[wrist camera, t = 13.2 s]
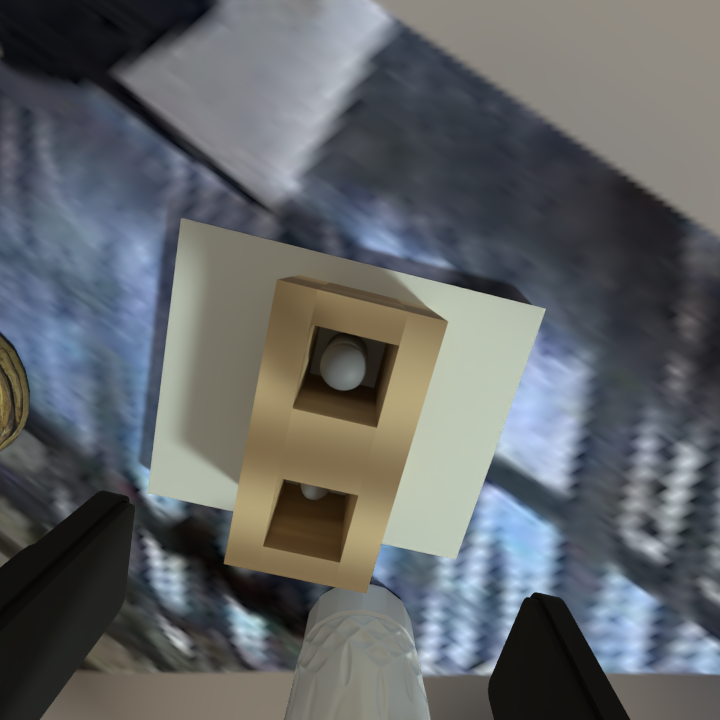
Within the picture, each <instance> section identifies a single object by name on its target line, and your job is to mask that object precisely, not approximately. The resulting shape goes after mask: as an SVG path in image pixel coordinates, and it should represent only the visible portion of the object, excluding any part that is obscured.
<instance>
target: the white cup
mask: <svg viewBox="0 0 720 720" xmlns="http://www.w3.org/2000/svg"><path fill="white" fill-rule="evenodd" d="M284 720H431V718H430V712H429V707H428V702H427V697H426V693H425V688H424V684H423V680H422V672H421V667H420V663H419V659H418V655H417V652H416V649H415V643H414V638H413V632H412V626H411V620H410V618H409V615H408V613H407V611H406V609H405V606H404V604H403V602H402V601H401V600H400V599H399V598H398V597H396V596H395V595H394V594H392V593H391V592H390V591H389V590H387V589H386V588H384V587H380V586H377V585H373V584H369V587H368V590H367V593H366V594H365V593H361V592H356V591H351V590H346V589H341V588H337V587H335V588H333V589H331V590H329V591H328V592H326V593H324V594H322V595H321V596H320V597H319V599H318V600H317V602H316V603H315V605H314V606H313V608H312V609H311V611H310V612H309V616H308V621H307V626H306V631H305V636H304V641H303V646H302V650H301V653H300V656H299V659H298V661H297V665H296V670H295V674H294V679H293V684H292V688H291V692H290V696H289V700H288V704H287V708H286V713H285V718H284Z"/></svg>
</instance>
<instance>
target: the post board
mask: <svg viewBox="0 0 720 720" xmlns="http://www.w3.org/2000/svg"><path fill="white" fill-rule="evenodd" d="M297 275H302V276H306V277H310V278H314V279H318V280H322V281H326V282H330V283H334V284H338V285H342V286H346V287H350V288H354V289H358V290H362V291H366V292H370V293H374V294H378V295H382V296H387V297H391V298H395V299H399V300H403V301H407V302H411V303H415V304H419V305H423V306H427V307H428V308H430V309H431V310H433V311H434V312H435V313H437V314H438V315H440V316H441V317H443V318H444V319H445V320H447V321H448V325H447V328H446V331H445V335H444V338H443V341H442V344H441V348H440V351H439V354H438V358H437V361H436V364H435V368H434V371H433V374H432V378H431V381H430V384H429V388H428V391H427V394H426V398H425V401H424V404H423V408H422V411H421V414H420V418H419V421H418V424H417V427H416V431H415V434H414V437H413V441H412V444H411V447H410V451H409V454H408V457H407V461H406V464H405V467H404V471H403V474H402V477H401V481H400V484H399V487H398V491H397V494H396V497H395V501H394V504H393V507H392V510H391V514H390V517H389V520H388V524H387V527H386V530H385V534H384V537H383V540H382V544H386V545H391V546H396V547H400V548H405V549H410V550H414V551H419V552H423V553H428V554H433V555H437V556H442V557H447V558H451V559H456V557H457V555H458V552H459V549H460V546H461V544H462V541H463V538H464V535H465V532H466V530H467V527H468V524H469V521H470V519H471V516H472V513H473V510H474V507H475V505H476V502H477V499H478V496H479V494H480V491H481V488H482V485H483V482H484V480H485V477H486V474H487V471H488V469H489V466H490V463H491V460H492V457H493V455H494V452H495V449H496V446H497V444H498V441H499V438H500V435H501V432H502V430H503V427H504V424H505V421H506V419H507V416H508V413H509V410H510V407H511V405H512V402H513V399H514V396H515V394H516V391H517V388H518V385H519V382H520V380H521V377H522V374H523V371H524V369H525V366H526V363H527V360H528V357H529V355H530V352H531V349H532V346H533V344H534V341H535V338H536V335H537V332H538V330H539V327H540V324H541V321H542V319H543V316H544V313H545V310H546V309H544V308H540V307H537V306H533V305H529V304H525V303H521V302H517V301H513V300H509V299H505V298H501V297H497V296H493V295H489V294H485V293H481V292H477V291H473V290H469V289H465V288H461V287H457V286H453V285H449V284H445V283H441V282H437V281H433V280H429V279H425V278H421V277H417V276H413V275H409V274H405V273H401V272H397V271H393V270H389V269H385V268H381V267H377V266H373V265H369V264H365V263H361V262H357V261H353V260H349V259H345V258H341V257H337V256H333V255H329V254H325V253H321V252H317V251H313V250H309V249H305V248H301V247H297V246H293V245H289V244H285V243H281V242H277V241H273V240H269V239H265V238H261V237H257V236H253V235H249V234H245V233H241V232H237V231H233V230H229V229H225V228H221V227H217V226H213V225H209V224H205V223H201V222H197V221H193V220H189V219H184V218H181V223H180V231H179V239H178V247H177V256H176V264H175V272H174V280H173V288H172V297H171V305H170V313H169V321H168V330H167V338H166V346H165V354H164V362H163V371H162V379H161V387H160V395H159V404H158V412H157V420H156V428H155V436H154V445H153V453H152V461H151V469H150V478H149V486H148V493H150V494H154V495H159V496H163V497H168V498H173V499H177V500H182V501H187V502H191V503H196V504H201V505H205V506H210V507H215V508H219V509H224V510H228V511H233V512H234V507H235V501H236V496H237V490H238V485H239V480H240V474H241V469H242V464H243V458H244V453H245V448H246V442H247V437H248V431H249V426H250V421H251V415H252V410H253V405H254V399H255V394H256V389H257V383H258V378H259V373H260V367H261V362H262V356H263V351H264V346H265V340H266V335H267V330H268V324H269V319H270V314H271V308H272V303H273V297H274V292H275V287H276V281H277V279H282V278H287V277H292V276H297ZM385 344H386V342H382V341H377V340H373V339H369V338H365V337H361V336H357V335H353V334H348V333H344V332H340V331H336V330H332V329H328V328H324V327H320V329H319V333H318V338H317V343H316V347H315V352H314V356H313V361H312V365H311V370H310V373H312V374H317V375H321V376H322V377H323V379H324V380H325V382H326V383H327V384H328V385H329V386H331V387H333V388H334V389H337V390H350V389H353V388H355V387H357V386H358V385H363V386H368V387H372V388H374V386H375V382H376V378H377V375H378V371H379V367H380V363H381V360H382V356H383V352H384V348H385ZM286 483H291V484H295V485H300V486H301V490H302V493H303V494H304V496H305V497H306V498H308V499H310V500H319V499H321V498H323V497H324V496H325V495H326V494H327V492H331V493H336V494H340V495H345V496H346V493H345V492H340V491H336V490H331V489H327V488H322V487H318V486H313V485H309V484H304V483H300V482H295V481H291V480H286Z"/></svg>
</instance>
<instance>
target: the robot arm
mask: <svg viewBox="0 0 720 720" xmlns="http://www.w3.org/2000/svg"><path fill="white" fill-rule="evenodd" d="M134 513H135V507H134V505H133V504H129V497H128V496H125V495H121V494H116V493H112V492H108V491H104V490H103V491H100V492H98V493H96V494H95V495H94V496H93V497H91V498H90V499H89V500H88V501H87V502H85V503H84V504H83V505H82V506H81V507H79V508H78V509H77V510H76V511H74V512H73V513H72V514H71V515H70V516H68V517H67V518H66V519H65V520H63V521H62V522H61V523H60V524H59V525H57V526H56V527H55V528H54V529H53V530H51V531H50V532H49V533H48V534H46V535H45V536H44V537H43V538H42V539H40V540H39V541H38V542H37V543H35V544H32V545H29V546H28V547H26V548H25V549H23V550H22V551H20V552H19V553H18V554H16V555H15V556H14V557H13V558H11V559H10V560H9V561H8V562H6V563H5V564H4V565H3V566H2V567H0V720H40V718H41V717H42V716H43V714H44V713H45V712H46V710H47V709H48V708H49V706H50V705H51V704H52V702H53V701H54V700H55V698H56V697H57V695H58V694H59V693H60V691H61V690H62V689H63V687H64V686H65V685H66V683H67V682H68V680H69V679H70V678H71V676H72V675H73V674H74V672H75V671H76V670H77V668H78V667H79V666H80V664H81V663H82V662H83V660H84V659H85V657H86V656H87V655H88V653H89V652H90V651H91V649H92V648H93V647H94V645H95V644H96V643H97V641H98V640H99V638H100V637H101V636H102V634H103V633H104V632H105V630H106V629H107V628H108V626H109V625H110V624H111V622H112V621H113V620H114V618H115V617H116V615H117V614H118V612H119V610H120V609H121V607H122V604H123V602H124V599H125V593H126V584H127V575H128V566H129V557H130V548H131V539H132V530H133V521H134ZM488 694H489V701H490V705H491V709H492V713H493V717H494V720H630V718H629V717H628V715H627V713H626V711H625V709H624V708H623V706H622V704H621V702H620V701H619V699H618V697H617V695H616V693H615V691H614V690H613V688H612V686H611V684H610V682H609V681H608V679H607V677H606V675H605V674H604V672H603V670H602V668H601V666H600V665H599V663H598V661H597V659H596V657H595V656H594V654H593V652H592V650H591V648H590V647H589V645H588V643H587V641H586V640H585V638H584V636H583V634H582V632H581V631H580V629H579V627H578V625H577V623H576V622H575V620H574V618H573V616H572V614H571V613H570V611H569V609H568V607H567V606H566V604H565V602H564V601H563V600H562V599H561V598H559V597H554V596H550V595H546V594H542V593H533V594H532V595H531V597H530V598H529V597H526V598H525V599H524V601H523V603H522V605H521V607H520V610H519V612H518V614H517V617H516V619H515V622H514V624H513V626H512V629H511V631H510V633H509V636H508V638H507V640H506V643H505V645H504V647H503V650H502V652H501V654H500V657H499V659H498V661H497V664H496V666H495V668H494V671H493V673H492V676H491V678H490V681H489V687H488Z"/></svg>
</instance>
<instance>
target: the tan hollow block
mask: <svg viewBox="0 0 720 720" xmlns="http://www.w3.org/2000/svg"><path fill="white" fill-rule="evenodd" d="M447 325H448V321H447V320H445V319H444V318H443V317H441V316H440V315H438V314H437V313H435V312H434V311H433V310H431V309H430V308H428V307H427V306H423V305H419V304H415V303H411V302H407V301H403V300H399V299H395V298H391V297H387V296H382V295H378V294H374V293H370V292H366V291H362V290H358V289H354V288H350V287H346V286H342V285H338V284H334V283H330V282H326V281H322V280H318V279H314V278H310V277H306V276H302V275H297V276H292V277H287V278H282V279H277V281H276V287H275V292H274V297H273V303H272V308H271V314H270V319H269V324H268V330H267V335H266V340H265V346H264V351H263V356H262V362H261V367H260V373H259V378H258V383H257V389H256V394H255V399H254V405H253V410H252V415H251V421H250V426H249V431H248V437H247V442H246V448H245V453H244V458H243V464H242V469H241V474H240V480H239V485H238V490H237V496H236V501H235V507H234V512H233V517H232V523H231V528H230V533H229V539H228V544H227V549H226V555H225V560H224V564H227V565H231V566H236V567H241V568H246V569H251V570H255V571H260V572H265V573H270V574H275V575H279V576H284V577H289V578H294V579H298V580H303V581H308V582H313V583H318V584H322V585H327V586H332V587H337V588H341V589H346V590H351V591H356V592H361V593H365V594H366V593H367V590H368V587H369V584H370V580H371V577H372V574H373V570H374V567H375V564H376V560H377V557H378V554H379V550H380V547H381V544H382V540H383V537H384V534H385V530H386V527H387V524H388V520H389V517H390V514H391V510H392V507H393V504H394V501H395V497H396V494H397V491H398V487H399V484H400V481H401V477H402V474H403V471H404V467H405V464H406V461H407V457H408V454H409V451H410V447H411V444H412V441H413V437H414V434H415V431H416V427H417V424H418V421H419V418H420V414H421V411H422V408H423V404H424V401H425V398H426V394H427V391H428V388H429V384H430V381H431V378H432V374H433V371H434V368H435V364H436V361H437V358H438V354H439V351H440V348H441V344H442V341H443V338H444V335H445V331H446V328H447ZM320 327H324V328H328V329H332V330H336V331H340V332H344V333H348V334H353V335H357V336H361V337H365V338H369V339H373V340H377V341H382V342H386V344H385V348H384V352H383V356H382V360H381V363H380V367H379V371H378V375H377V378H376V382H375V386H374V388H372V387H368V386H363V385H358V386H357V387H355V388H353V389H350V390H337V389H334V388H333V387H331V386H329V385H328V384H327V383H326V382H325V380H324V379H323V377H322V376H321V375H317V374H312V373H310V370H311V365H312V361H313V356H314V352H315V347H316V343H317V338H318V333H319V329H320ZM286 480H291V481H295V482H300V483H304V484H309V485H313V486H318V487H322V488H327V489H331V490H336V491H340V492H345V493H346V496H345V495H340V494H336V493H331V492H327V494H326V495H325V496H324V497H323V498H321V499H319V500H310V499H308V498H306V497H305V496H304V494H303V493H302V490H301V486H300V485H295V484H291V483H286Z"/></svg>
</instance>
